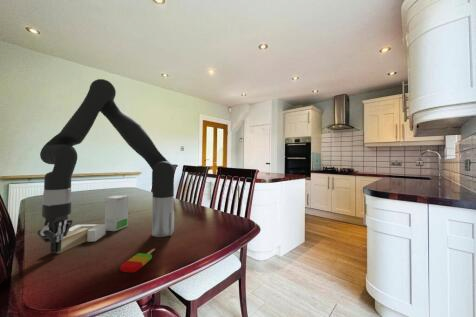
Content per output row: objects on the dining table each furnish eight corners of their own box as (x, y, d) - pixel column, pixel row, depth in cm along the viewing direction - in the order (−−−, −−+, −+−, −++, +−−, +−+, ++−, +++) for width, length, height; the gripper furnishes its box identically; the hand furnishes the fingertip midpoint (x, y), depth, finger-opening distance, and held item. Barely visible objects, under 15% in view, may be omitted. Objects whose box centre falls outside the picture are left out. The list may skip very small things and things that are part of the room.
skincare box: (115, 231, 94) (116, 198, 94) (103, 230, 95) (104, 197, 95) (128, 226, 102) (129, 195, 102) (117, 224, 103) (118, 194, 104)
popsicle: (118, 272, 61) (118, 266, 62) (147, 250, 76) (147, 245, 76) (134, 274, 61) (134, 268, 61) (161, 251, 75) (161, 247, 75)
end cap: (105, 234, 91) (105, 224, 91) (95, 241, 83) (95, 230, 83) (76, 234, 89) (76, 224, 89) (63, 242, 81) (63, 231, 81)
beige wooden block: (88, 240, 84) (88, 228, 84) (60, 253, 72) (60, 239, 72) (80, 239, 84) (80, 227, 84) (51, 253, 72) (51, 239, 72)
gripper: (59, 198, 76) (58, 244, 76) (28, 206, 63) (25, 262, 62) (81, 198, 77) (79, 243, 77) (54, 205, 64) (52, 261, 63)
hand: (55, 252), depth 70 cm, fingers closed
